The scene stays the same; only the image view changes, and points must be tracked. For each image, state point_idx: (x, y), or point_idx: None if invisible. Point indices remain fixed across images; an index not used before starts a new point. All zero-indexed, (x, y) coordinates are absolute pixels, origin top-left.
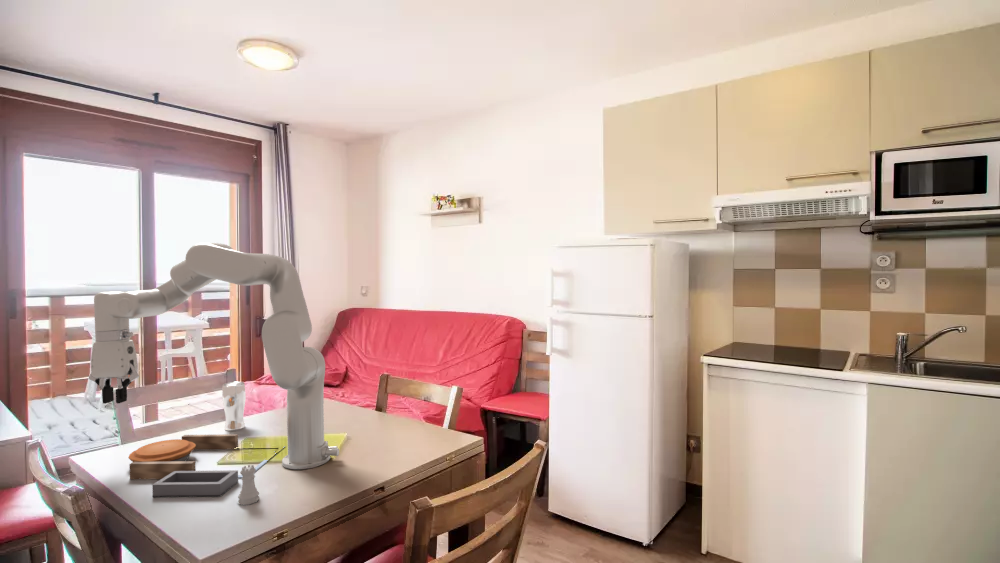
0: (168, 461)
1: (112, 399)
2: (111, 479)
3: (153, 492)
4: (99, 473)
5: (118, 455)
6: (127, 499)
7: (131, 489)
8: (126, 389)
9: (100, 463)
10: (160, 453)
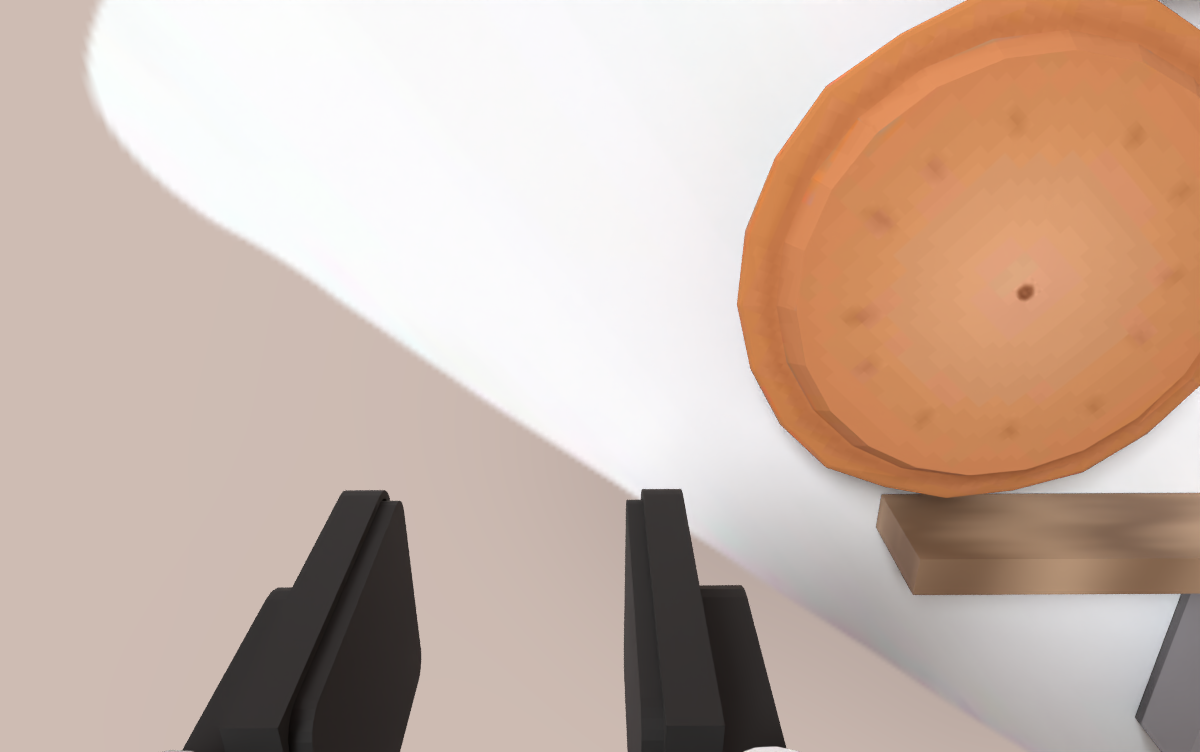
0: (1187, 559)
1: (396, 536)
2: (749, 521)
3: (1156, 739)
4: (588, 434)
5: (426, 59)
6: (1011, 732)
7: (966, 640)
8: (779, 743)
9: (428, 251)
10: (1070, 441)
